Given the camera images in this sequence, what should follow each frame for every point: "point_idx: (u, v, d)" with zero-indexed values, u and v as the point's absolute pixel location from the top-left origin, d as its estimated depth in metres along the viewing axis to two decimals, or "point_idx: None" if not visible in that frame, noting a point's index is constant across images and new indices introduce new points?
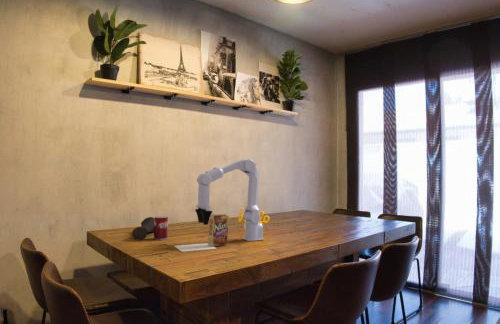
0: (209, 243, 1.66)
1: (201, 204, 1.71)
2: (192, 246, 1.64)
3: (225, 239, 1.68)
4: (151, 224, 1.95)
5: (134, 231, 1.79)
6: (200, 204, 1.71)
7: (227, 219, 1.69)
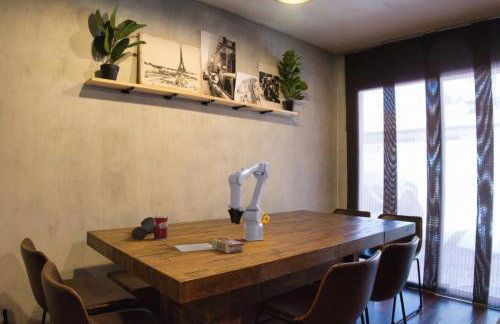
0: (212, 242, 1.63)
1: (234, 204, 1.70)
2: (192, 246, 1.64)
3: None
4: (151, 224, 1.94)
5: (134, 231, 1.79)
6: (233, 204, 1.70)
7: None
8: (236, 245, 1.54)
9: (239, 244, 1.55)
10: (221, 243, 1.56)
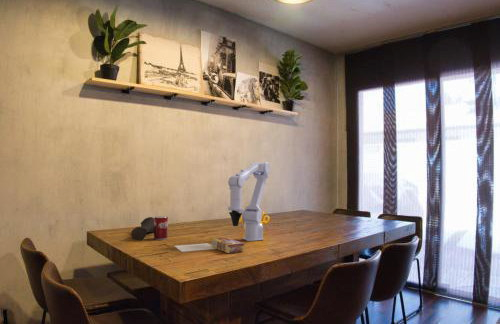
0: (212, 242, 1.63)
1: (234, 206, 1.70)
2: (192, 246, 1.64)
3: None
4: (151, 224, 1.94)
5: (133, 231, 1.79)
6: (233, 206, 1.70)
7: None
8: (236, 245, 1.54)
9: (239, 244, 1.55)
10: (221, 243, 1.56)
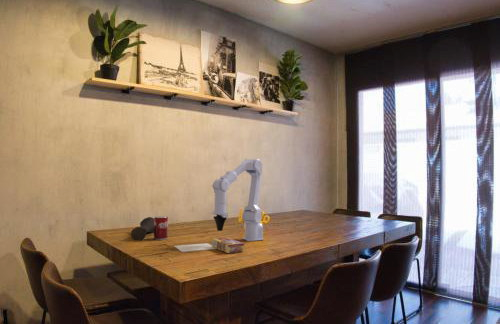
0: (212, 242, 1.63)
1: (218, 211, 1.66)
2: (192, 246, 1.64)
3: None
4: (150, 224, 1.94)
5: (133, 231, 1.78)
6: (217, 211, 1.66)
7: None
8: (236, 245, 1.54)
9: (239, 244, 1.55)
10: (221, 243, 1.56)
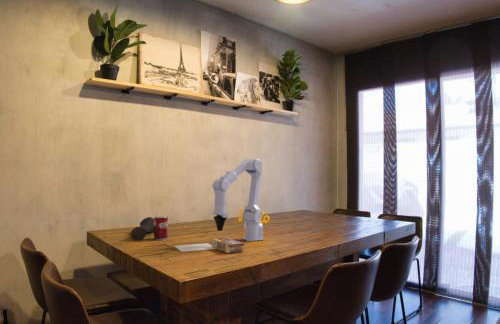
0: (212, 242, 1.63)
1: (218, 211, 1.66)
2: (192, 246, 1.64)
3: None
4: (150, 224, 1.94)
5: (133, 231, 1.78)
6: (217, 211, 1.66)
7: None
8: (236, 245, 1.54)
9: (239, 244, 1.55)
10: (221, 243, 1.56)
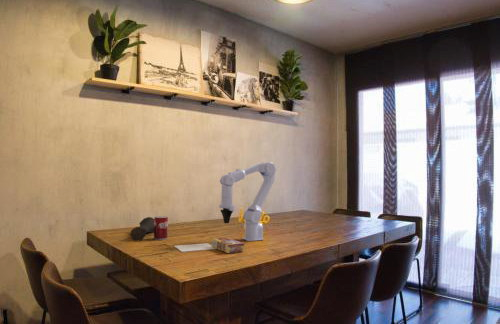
0: (212, 242, 1.63)
1: (225, 204, 1.76)
2: (192, 246, 1.64)
3: None
4: (150, 224, 1.94)
5: (132, 231, 1.78)
6: (224, 204, 1.76)
7: None
8: (236, 245, 1.54)
9: (239, 244, 1.55)
10: (221, 243, 1.56)
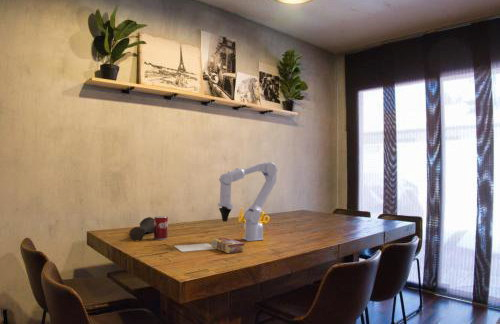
0: (212, 242, 1.63)
1: (223, 202, 1.78)
2: (192, 246, 1.64)
3: None
4: (149, 224, 1.94)
5: (131, 231, 1.78)
6: (222, 202, 1.79)
7: None
8: (236, 245, 1.54)
9: (239, 244, 1.55)
10: (221, 243, 1.56)
